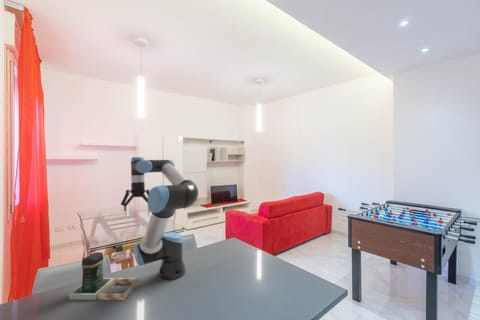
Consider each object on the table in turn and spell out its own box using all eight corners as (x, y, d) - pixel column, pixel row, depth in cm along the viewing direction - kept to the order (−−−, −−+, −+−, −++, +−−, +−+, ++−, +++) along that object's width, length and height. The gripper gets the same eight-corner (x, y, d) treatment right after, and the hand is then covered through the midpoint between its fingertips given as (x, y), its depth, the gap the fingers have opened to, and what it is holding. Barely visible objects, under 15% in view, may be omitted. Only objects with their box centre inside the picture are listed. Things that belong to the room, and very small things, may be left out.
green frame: (113, 282, 123) (113, 278, 123) (95, 299, 108) (95, 294, 108) (90, 282, 123) (90, 277, 123) (69, 299, 108) (69, 294, 108)
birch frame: (138, 282, 123) (138, 278, 123) (123, 299, 108) (123, 294, 108) (115, 282, 123) (115, 278, 123) (97, 299, 108) (97, 294, 108)
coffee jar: (94, 296, 111) (93, 258, 111) (78, 296, 111) (78, 258, 111) (106, 285, 120) (106, 250, 120) (92, 285, 121) (91, 250, 121)
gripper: (160, 181, 143) (160, 214, 143) (120, 181, 143) (121, 215, 142) (156, 182, 136) (156, 217, 136) (114, 182, 135) (114, 218, 135)
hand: (138, 216), depth 139 cm, fingers open, 13 cm apart
